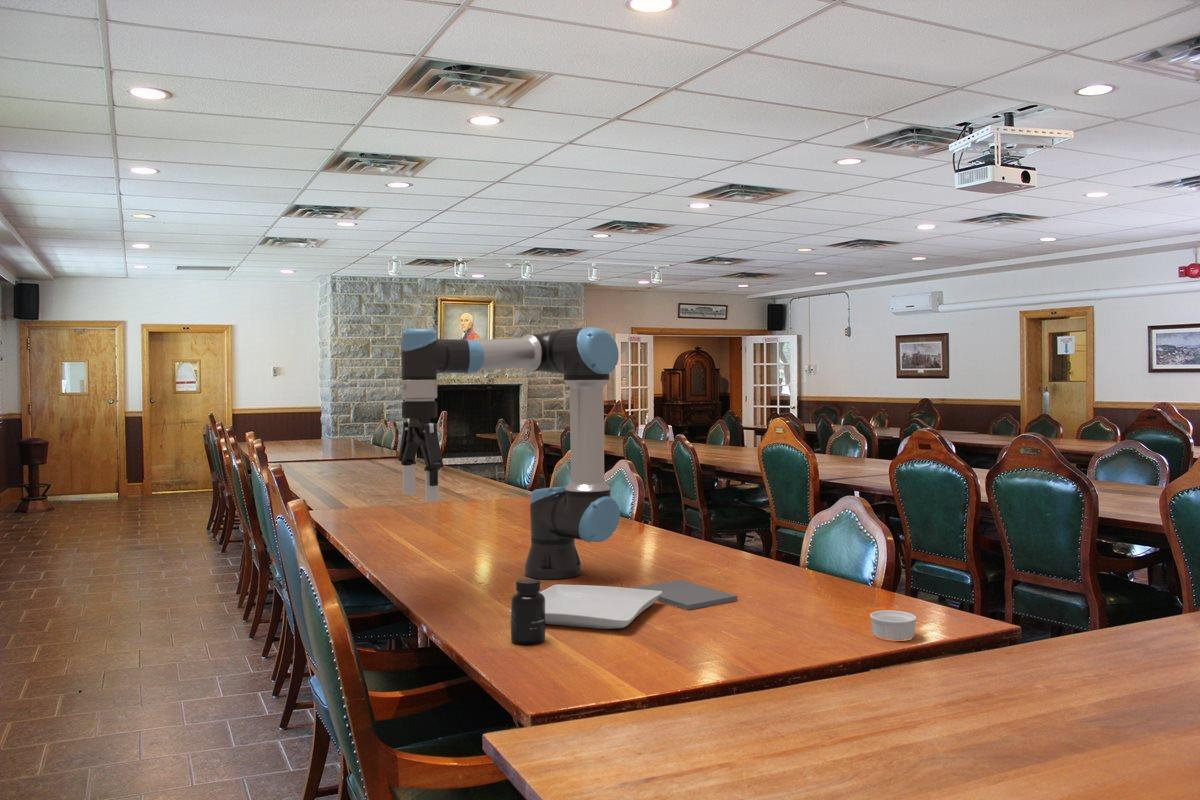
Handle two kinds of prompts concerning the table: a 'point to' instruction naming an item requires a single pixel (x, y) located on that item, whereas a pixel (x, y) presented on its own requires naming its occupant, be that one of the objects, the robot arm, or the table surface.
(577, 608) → the square plate
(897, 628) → the ramekin
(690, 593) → the folder
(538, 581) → the supplement bottle
